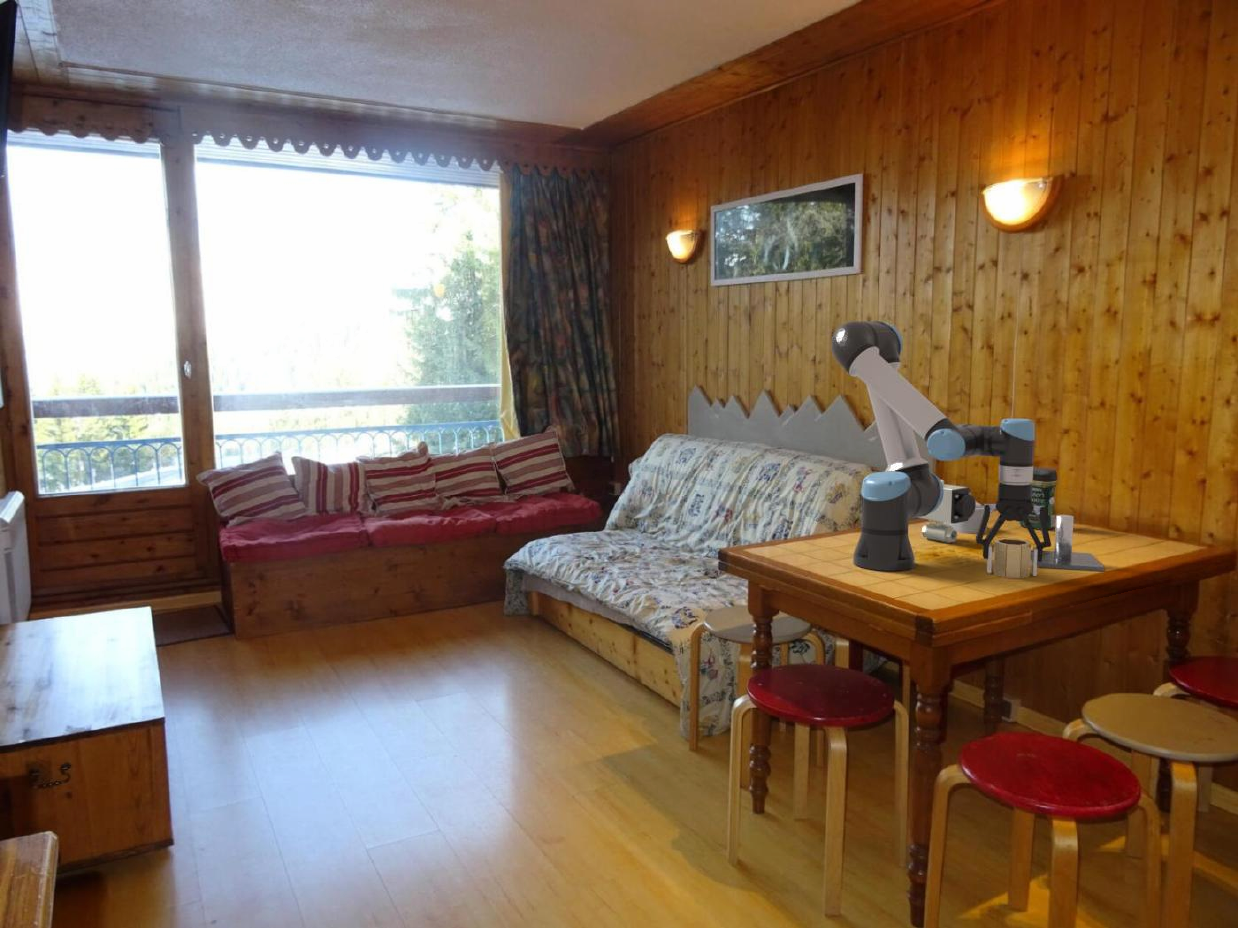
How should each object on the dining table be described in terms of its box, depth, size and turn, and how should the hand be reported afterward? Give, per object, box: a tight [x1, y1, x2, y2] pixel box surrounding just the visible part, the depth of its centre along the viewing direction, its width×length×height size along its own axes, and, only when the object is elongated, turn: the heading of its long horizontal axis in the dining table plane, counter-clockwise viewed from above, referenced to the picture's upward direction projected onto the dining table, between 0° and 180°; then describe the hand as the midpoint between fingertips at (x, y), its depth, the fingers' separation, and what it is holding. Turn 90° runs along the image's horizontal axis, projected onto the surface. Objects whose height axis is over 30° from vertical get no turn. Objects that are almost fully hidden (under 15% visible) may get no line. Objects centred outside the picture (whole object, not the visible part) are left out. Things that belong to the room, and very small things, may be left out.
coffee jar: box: [1019, 466, 1058, 530], centre depth 272 cm, size 10×8×19 cm
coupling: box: [992, 537, 1032, 579], centre depth 217 cm, size 8×8×8 cm
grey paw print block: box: [944, 500, 988, 534], centre depth 272 cm, size 10×13×9 cm
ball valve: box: [916, 479, 976, 544], centre depth 255 cm, size 18×8×18 cm, turn 36°
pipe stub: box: [1030, 514, 1105, 572], centre depth 228 cm, size 16×16×12 cm
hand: (1011, 573), depth 217 cm, fingers open, 9 cm apart
